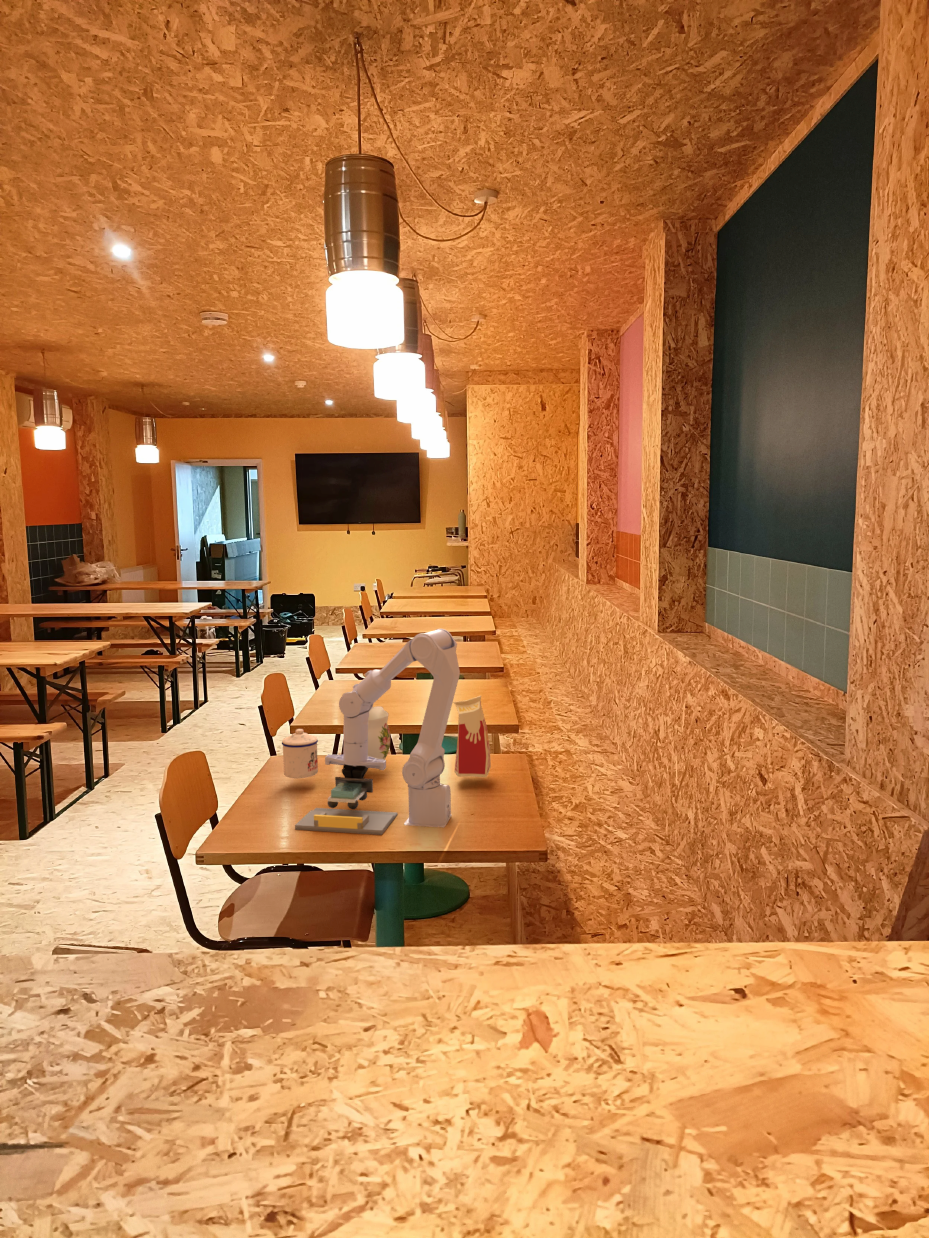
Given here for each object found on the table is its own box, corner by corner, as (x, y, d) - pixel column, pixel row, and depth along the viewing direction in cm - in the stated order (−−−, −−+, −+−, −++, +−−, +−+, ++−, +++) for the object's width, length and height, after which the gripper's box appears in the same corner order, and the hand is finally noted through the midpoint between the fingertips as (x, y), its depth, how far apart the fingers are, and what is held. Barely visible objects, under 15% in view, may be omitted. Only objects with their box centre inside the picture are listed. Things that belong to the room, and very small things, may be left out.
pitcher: (336, 772, 207) (335, 720, 205) (362, 753, 224) (361, 705, 222) (376, 775, 204) (375, 722, 202) (399, 755, 221) (398, 707, 220)
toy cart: (373, 798, 186) (372, 778, 186) (360, 811, 178) (359, 790, 177) (336, 796, 188) (336, 776, 188) (322, 808, 180) (321, 788, 179)
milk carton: (490, 766, 210) (490, 692, 208) (488, 777, 201) (487, 699, 199) (456, 766, 211) (455, 691, 209) (452, 777, 202) (451, 699, 199)
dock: (397, 814, 185) (397, 800, 185) (381, 834, 173) (381, 819, 173) (316, 809, 189) (315, 795, 189) (295, 829, 177) (294, 814, 177)
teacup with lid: (315, 779, 202) (313, 733, 200) (279, 779, 202) (277, 734, 200) (323, 764, 214) (322, 722, 212) (289, 765, 214) (288, 722, 212)
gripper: (390, 738, 190) (389, 792, 192) (332, 732, 193) (332, 786, 195) (381, 746, 184) (380, 803, 186) (321, 741, 186) (321, 796, 188)
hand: (355, 795), depth 190 cm, fingers closed, pressing on toy cart
